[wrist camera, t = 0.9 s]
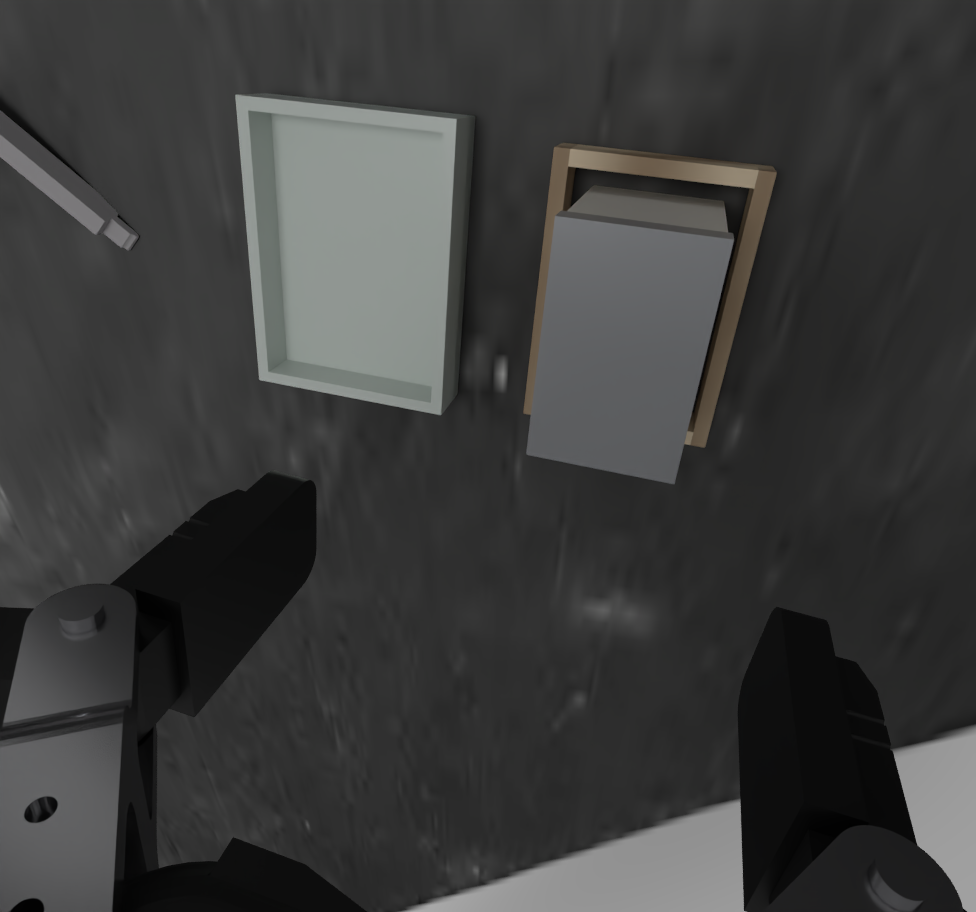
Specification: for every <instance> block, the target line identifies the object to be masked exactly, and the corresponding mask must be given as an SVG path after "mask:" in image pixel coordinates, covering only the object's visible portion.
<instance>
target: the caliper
mask: <svg viewBox="0 0 976 912" xmlns="http://www.w3.org/2000/svg"><path fill="white" fill-rule="evenodd" d="M0 157H1V158H2V159H3V160H5V161H6V162H7V163H8V164H9V165H11V166H12V167H13V168H14V169H16V170H17V171H18V172H19V173H20V174H22V175H23V176H24V177H25V178H27V179H28V180H29V181H30V182H31V183H33V184H34V185H35V186H36V187H38V188H39V189H40V190H41V191H42V192H44V193H45V194H46V195H47V196H49V197H50V198H51V199H52V200H54V201H55V202H56V203H57V204H58V205H60V206H61V207H62V208H63V209H65V210H66V211H67V212H68V213H69V214H71V215H72V216H73V217H74V218H76V219H77V220H78V221H79V222H80V223H82V224H83V225H84V226H85V227H87V228H88V229H89V230H90V231H91V232H93V233H94V234H95V235H98V234H101V233H102V232H103V233H104V234H105V235H106V236H108V237H109V238H110V239H111V240H112V241H114V242H115V243H116V244H117V245H119V246H120V247H121V248H125V249H127V250H131V248H132V247H133V245H134V244H135V242H136V241H137V239H138V238H139V235H138V234H137V233H136V232H135V231H134V230H133V229H132V228H131V227H129V226H128V225H127V224H126V223H124V222H123V221H122V220H121V219H120V218H118V217H117V216H118V215H119V214H118V213H117V212H116V211H115V210H114V209H113V208H112V207H111V206H110V205H109V204H108V202H107V201H106V200H105V199H104V198H103V197H102V196H101V195H100V194H99V193H98V192H97V191H96V190H95V189H94V188H92V187H91V186H90V185H89V184H88V183H86V182H85V181H84V180H83V179H82V178H80V177H79V176H78V175H77V174H76V173H74V172H73V171H72V170H71V169H70V168H69V167H67V166H66V165H65V164H64V163H63V162H61V161H60V160H59V159H58V158H57V157H55V156H54V155H53V154H52V153H51V152H49V151H48V150H47V149H46V148H45V147H43V146H42V145H41V144H40V143H39V142H37V141H36V140H35V139H34V138H33V137H32V136H30V135H29V134H28V133H27V132H26V131H24V130H23V129H22V128H21V127H20V126H18V125H17V124H16V123H15V122H14V121H12V120H11V119H10V118H9V117H8V116H6V115H5V114H4V113H3V112H2V111H1V110H0Z"/></svg>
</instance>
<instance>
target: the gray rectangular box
mask: <svg viewBox="0 0 976 912" xmlns="http://www.w3.org/2000/svg"><path fill="white" fill-rule="evenodd" d="M733 242H734V236H733V233H728V227H727V220H726V213H725V205H724V201H720V200H712V199H704V198H696V197H688V196H679V195H671V194H663V193H655V192H647V191H639V190H631V189H623V188H615V187H607V186H599V185H593V186H592V187H591V188H590V189H589V190H588V191H587V192H586V193H585V194H584V195H583V196H582V197H581V198H580V199H579V200H578V201H577V202H576V203H575V204H574V205H573V206H572V207H571V208H570V209H569V210H567V211H560V212H559V213H558V214H557V215H555V220H554V229H553V237H552V245H551V253H550V262H549V270H548V278H547V286H546V295H545V303H544V311H543V319H542V328H541V336H540V344H539V352H538V361H537V369H536V377H535V385H534V394H533V402H532V410H531V418H530V427H529V435H528V443H527V451H526V455H531V456H536V457H541V458H546V459H550V460H555V461H560V462H565V463H570V464H575V465H580V466H585V467H590V468H595V469H600V470H605V471H610V472H615V473H620V474H625V475H630V476H635V477H640V478H645V479H650V480H655V481H660V482H665V483H670V484H675V480H676V475H677V471H678V467H679V463H680V459H681V455H682V451H683V447H684V443H685V439H686V435H687V430H688V426H689V422H690V418H691V414H692V410H693V406H694V402H695V398H696V394H697V390H698V385H699V381H700V377H701V373H702V369H703V365H704V361H705V357H706V353H707V349H708V345H709V340H710V336H711V332H712V328H713V324H714V320H715V316H716V312H717V308H718V304H719V300H720V295H721V291H722V287H723V283H724V279H725V275H726V271H727V267H728V263H729V259H730V255H731V250H732V246H733Z"/></svg>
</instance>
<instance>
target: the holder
mask: <svg viewBox="0 0 976 912" xmlns="http://www.w3.org/2000/svg"><path fill="white" fill-rule="evenodd" d="M576 167H577V168H585V169H594V170H602V171H610V172H619V173H627V174H635V175H644V176H652V177H660V178H669V179H677V180H686V181H694V182H702V183H711V184H719V185H727V186H736V187H744V188H749V192H748V196H747V200H746V204H745V209H744V213H743V217H742V221H741V225H740V229H739V233H738V237H737V241H736V245H735V249H734V253H733V257H732V261H731V265H730V269H729V273H728V278H727V282H726V286H725V290H724V294H723V298H722V302H721V306H720V310H719V314H718V318H717V322H716V326H715V330H714V334H713V338H712V342H711V347H710V351H709V355H708V359H707V363H706V367H705V371H704V375H703V379H702V383H701V387H700V391H699V395H698V399H697V403H696V407H695V411H694V413H692V414H691V418H690V422H689V426H688V430H687V435H686V439H685V443H684V444H687V445H693V446H698V447H703V448H705V446H706V442H707V438H708V434H709V430H710V426H711V423H712V419H713V415H714V411H715V407H716V403H717V400H718V396H719V392H720V388H721V384H722V381H723V377H724V373H725V369H726V365H727V361H728V358H729V354H730V350H731V346H732V342H733V338H734V335H735V331H736V327H737V323H738V319H739V316H740V312H741V308H742V304H743V300H744V296H745V293H746V289H747V285H748V281H749V277H750V273H751V270H752V266H753V262H754V258H755V254H756V251H757V247H758V243H759V239H760V235H761V231H762V228H763V224H764V220H765V216H766V212H767V208H768V205H769V201H770V197H771V193H772V189H773V186H774V182H775V178H776V174H777V172H776V171H775V169H774V168H773V166H766V165H757V164H748V163H740V162H731V161H722V160H713V159H704V158H695V157H687V156H678V155H669V154H660V153H651V152H642V151H634V150H625V149H616V148H607V147H598V146H589V145H581V144H572V143H562V144H559V145H557V146H555V147H554V152H553V161H552V170H551V178H550V187H549V196H548V204H547V213H546V221H545V230H544V239H543V247H542V256H541V265H540V273H539V282H538V291H537V299H536V308H535V317H534V325H533V334H532V343H531V351H530V360H529V369H528V377H527V386H526V394H525V403H524V412H523V413H524V414H529V415H531V410H532V402H533V394H534V385H535V377H536V369H537V361H538V352H539V344H540V336H541V328H542V319H543V311H544V303H545V295H546V286H547V278H548V270H549V262H550V253H551V245H552V237H553V229H554V220H555V215H557V214H558V213H559V212H560V211H567V210H569V209H570V207H571V200H572V192H573V185H574V177H575V169H576Z"/></svg>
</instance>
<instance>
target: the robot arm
mask: <svg viewBox="0 0 976 912" xmlns="http://www.w3.org/2000/svg"><path fill="white" fill-rule="evenodd" d="M315 556H316V487H315V484H314V482H313V481H311V480H308V479H304V478H300V477H296V476H293V475H289V474H285V473H281V472H278V471H270V472H268V473H267V474H265V475H264V476H263V477H262V478H261V479H260V480H259V481H257V482H256V483H255V484H254V485H253V486H252V487H251V488H249V489H248V490H247V491H246V492H245V491H242V490H238V489H237V490H235V491H233V492H230V493H228V494H226V495H223V496H221V497H219V498H216V499H214V500H211V501H210V502H208V503H207V504H206V505H205V506H204V507H202V508H201V509H200V510H199V511H198V512H196V513H195V514H194V515H193V516H192V517H190V520H189V522H187V521H186V522H184V523H183V524H182V525H181V526H180V527H178V528H177V529H176V530H175V531H174V533H173V535H172V536H171V535H169V536H168V537H166V538H165V539H164V540H163V541H162V542H160V543H159V544H158V545H157V546H156V547H154V548H153V549H152V550H151V551H150V552H148V553H147V554H146V555H145V556H144V557H142V558H141V559H140V560H139V561H138V562H136V563H135V564H134V565H133V566H132V567H130V568H129V569H128V570H127V571H126V572H124V573H123V574H122V575H121V576H120V577H118V578H117V579H116V580H115V581H114V582H112V583H111V584H110V585H109V584H86V585H80V586H75V587H72V588H68V589H66V590H63V591H60V592H58V593H56V594H54V595H52V596H50V597H48V598H47V599H45V600H44V601H42V602H41V603H40V604H39V605H38V606H36V607H35V608H34V609H31V608H6V607H0V912H367V911H365V910H364V909H363V908H361V907H360V906H359V905H357V904H356V903H355V902H354V901H352V900H351V899H350V898H348V897H347V896H346V895H344V894H343V893H342V892H340V891H339V890H338V889H337V888H335V887H334V886H333V885H331V884H330V883H329V882H327V881H326V880H325V879H324V878H322V877H321V876H320V875H318V874H317V873H316V872H314V871H313V870H312V869H310V868H309V867H308V866H307V865H305V864H303V863H300V862H297V861H295V860H292V859H289V858H287V857H284V856H281V855H279V854H276V853H273V852H271V851H268V850H266V849H263V848H260V847H258V846H255V845H252V844H250V843H247V842H244V841H242V840H239V839H236V838H234V837H233V838H232V840H231V841H230V843H229V845H228V846H227V848H226V849H225V851H224V852H223V854H222V856H221V857H220V859H219V860H218V862H215V861H205V862H188V863H182V864H176V865H170V866H166V867H162V868H159V865H158V854H157V728H156V723H157V722H158V721H159V720H160V718H161V717H162V716H163V715H164V714H165V713H166V712H167V710H168V709H172V710H175V711H178V712H180V713H183V714H186V715H189V716H192V717H195V716H196V715H197V714H198V713H199V711H200V710H201V709H202V708H203V707H204V705H205V704H206V703H207V702H208V700H209V699H210V698H211V697H212V696H213V694H214V693H215V692H216V691H217V689H218V688H219V687H220V686H221V684H222V683H223V682H224V681H225V680H226V678H227V677H228V676H229V675H230V673H231V672H232V671H233V670H234V669H235V667H236V666H237V665H238V664H239V662H240V661H241V660H242V659H243V658H244V656H245V655H246V654H247V653H248V651H249V650H250V649H251V648H252V647H253V645H254V644H255V643H256V642H257V640H258V639H259V638H260V637H261V636H262V634H263V633H264V632H265V631H266V629H267V628H268V627H269V626H270V625H271V623H272V622H273V621H274V620H275V618H276V617H277V616H278V615H279V614H280V612H281V611H282V610H283V609H284V607H285V606H286V605H287V604H288V603H289V601H290V600H291V599H292V598H293V596H294V595H295V594H296V593H297V592H298V590H299V589H300V588H301V587H302V585H303V584H304V583H305V581H306V580H307V578H308V576H309V574H310V572H311V570H312V567H313V564H314V561H315ZM884 721H885V720H884V716H883V712H882V708H881V705H880V701H879V697H878V693H877V690H876V689H875V688H874V686H873V685H872V683H871V682H870V681H869V679H868V678H867V677H866V675H865V674H864V672H863V671H862V670H861V668H860V667H859V665H858V664H857V663H856V662H854V661H850V660H847V659H843V658H840V657H836V656H835V652H834V648H833V643H832V638H831V633H830V628H829V624H828V622H827V621H826V620H824V619H820V618H816V617H812V616H809V615H805V614H801V613H798V612H794V611H790V610H786V609H783V608H779V607H776V608H775V609H774V610H773V611H772V613H771V615H770V617H769V619H768V622H767V624H766V626H765V629H764V631H763V633H762V636H761V638H760V640H759V643H758V645H757V647H756V650H755V652H754V655H753V657H752V659H751V662H750V664H749V666H748V669H747V671H746V674H745V676H744V679H743V683H742V686H741V691H740V696H739V703H738V735H739V766H740V797H741V825H742V826H741V827H742V859H743V889H744V911H747V912H967V911H965V910H964V909H963V907H962V903H961V900H960V898H959V895H958V893H957V891H956V889H955V887H954V885H953V884H952V882H951V880H950V879H949V878H948V876H947V875H946V873H945V872H944V871H943V870H942V868H941V867H940V866H939V865H938V864H937V863H936V862H935V861H934V860H933V859H932V858H931V857H930V856H929V855H928V854H927V853H926V852H925V851H924V850H922V849H921V848H920V847H918V846H917V843H916V839H915V835H914V831H913V827H912V824H911V820H910V816H909V812H908V808H907V804H906V801H905V797H904V793H903V789H902V785H901V781H900V778H899V774H898V770H897V766H896V762H895V758H894V754H893V751H892V750H890V745H891V743H890V739H889V735H888V731H887V728H886V726H884Z"/></svg>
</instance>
